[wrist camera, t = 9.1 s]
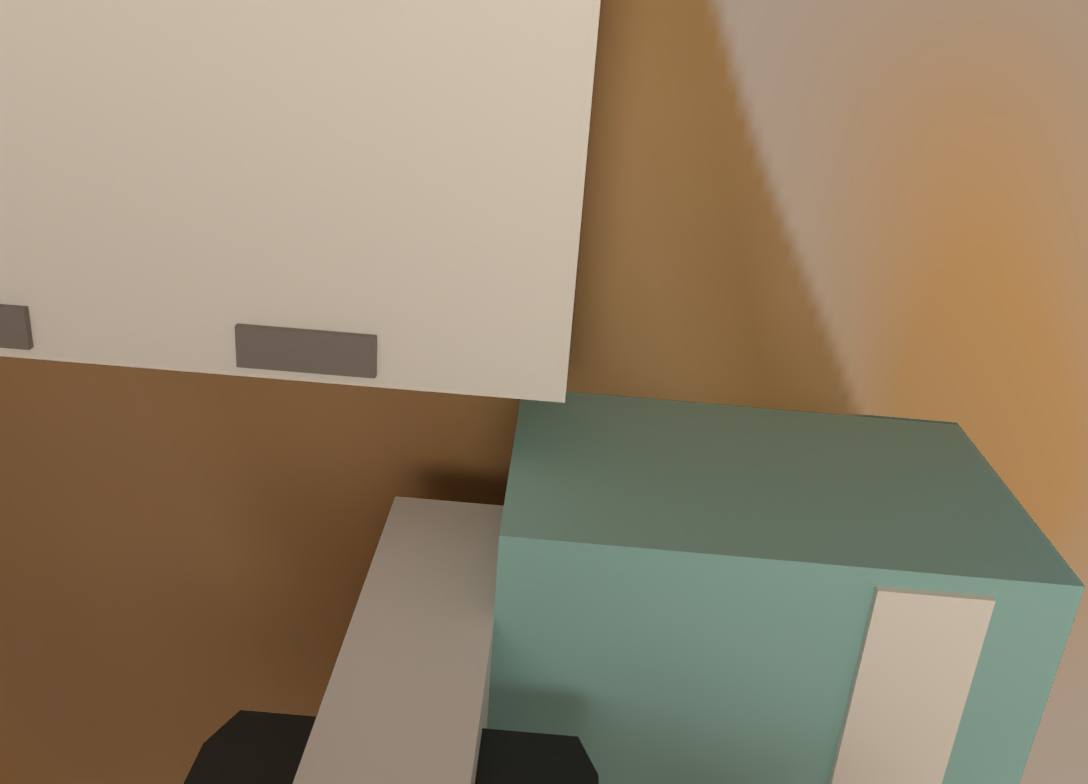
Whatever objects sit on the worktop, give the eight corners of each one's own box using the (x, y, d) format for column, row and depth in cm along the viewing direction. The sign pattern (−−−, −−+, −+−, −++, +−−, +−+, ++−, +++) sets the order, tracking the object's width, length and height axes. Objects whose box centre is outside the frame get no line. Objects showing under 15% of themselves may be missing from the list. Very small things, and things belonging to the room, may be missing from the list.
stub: (500, 677, 16) (473, 897, 12) (522, 385, 14) (498, 540, 10) (882, 711, 16) (971, 942, 12) (956, 422, 14) (1090, 591, 10)
